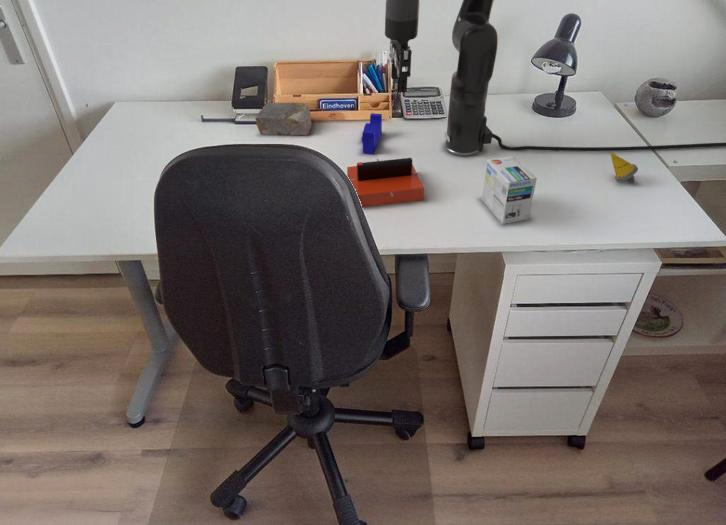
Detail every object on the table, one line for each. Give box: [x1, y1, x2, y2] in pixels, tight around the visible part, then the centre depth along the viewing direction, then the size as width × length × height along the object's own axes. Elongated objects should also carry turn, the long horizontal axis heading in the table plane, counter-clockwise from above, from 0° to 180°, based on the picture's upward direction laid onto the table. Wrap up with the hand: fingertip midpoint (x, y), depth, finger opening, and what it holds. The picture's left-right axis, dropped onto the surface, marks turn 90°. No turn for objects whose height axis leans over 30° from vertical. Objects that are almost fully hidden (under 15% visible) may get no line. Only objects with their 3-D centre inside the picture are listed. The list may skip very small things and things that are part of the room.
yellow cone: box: [609, 151, 639, 184], centre depth 131 cm, size 5×5×10 cm
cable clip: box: [361, 112, 383, 155], centre depth 148 cm, size 12×4×6 cm, turn 168°
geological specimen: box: [255, 102, 313, 137], centre depth 157 cm, size 11×6×15 cm
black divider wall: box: [356, 157, 413, 181], centre depth 128 cm, size 13×1×4 cm, turn 100°
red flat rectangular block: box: [346, 158, 425, 208], centre depth 130 cm, size 17×17×4 cm
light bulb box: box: [481, 155, 538, 225], centre depth 121 cm, size 11×7×11 cm, turn 17°
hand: (398, 85), depth 132 cm, fingers open, 8 cm apart
